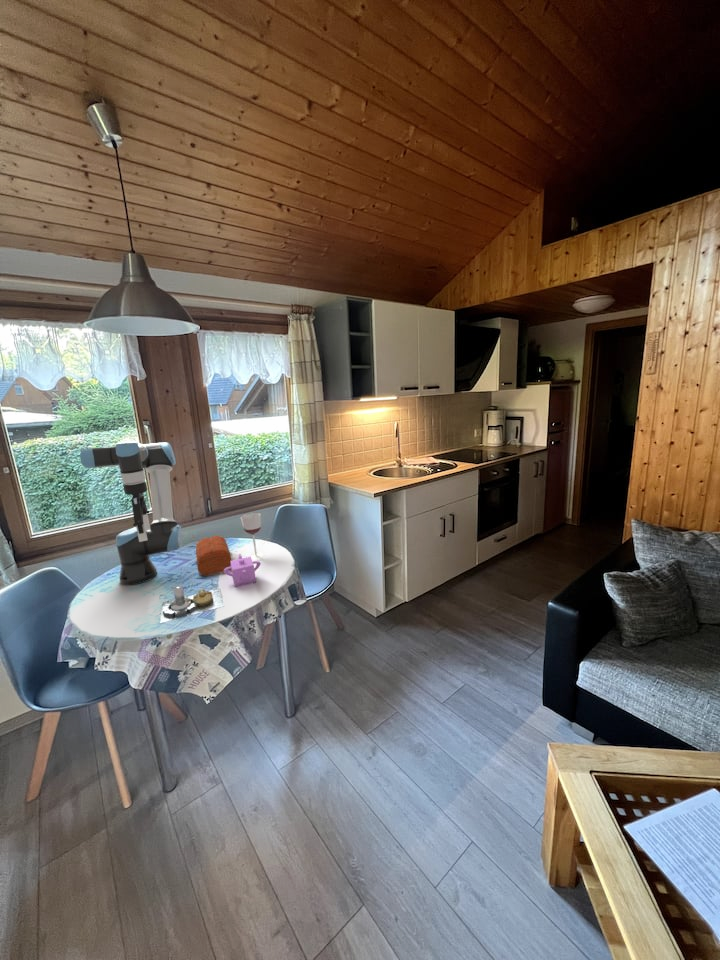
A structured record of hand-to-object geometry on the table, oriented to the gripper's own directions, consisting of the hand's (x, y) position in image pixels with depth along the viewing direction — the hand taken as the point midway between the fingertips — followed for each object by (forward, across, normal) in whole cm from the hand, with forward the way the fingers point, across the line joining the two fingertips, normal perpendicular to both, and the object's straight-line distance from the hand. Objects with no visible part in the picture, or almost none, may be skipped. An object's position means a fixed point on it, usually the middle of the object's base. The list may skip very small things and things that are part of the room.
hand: (145, 535), depth 151 cm
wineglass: (+29, -23, +43) cm, 57 cm away
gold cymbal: (+27, +13, +17) cm, 35 cm away
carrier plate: (+29, +13, +13) cm, 34 cm away
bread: (+29, -28, +23) cm, 46 cm away
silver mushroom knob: (+27, +13, +9) cm, 31 cm away
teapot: (+29, +2, +34) cm, 45 cm away
